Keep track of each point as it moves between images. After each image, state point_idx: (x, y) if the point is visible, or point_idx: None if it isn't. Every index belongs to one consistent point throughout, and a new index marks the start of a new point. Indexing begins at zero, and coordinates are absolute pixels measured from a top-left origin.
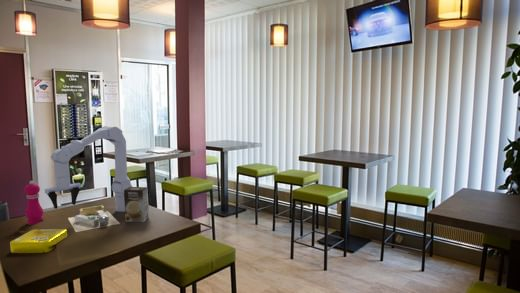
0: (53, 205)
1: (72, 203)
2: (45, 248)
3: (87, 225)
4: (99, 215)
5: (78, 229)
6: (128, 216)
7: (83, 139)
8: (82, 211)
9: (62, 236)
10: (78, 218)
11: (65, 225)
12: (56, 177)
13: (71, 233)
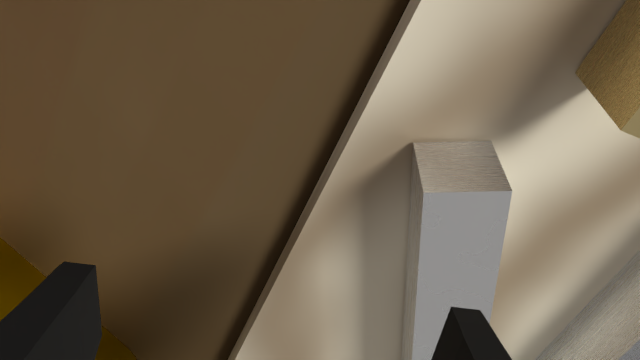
0: (27, 307)
1: (447, 337)
2: None
3: (396, 333)
4: (611, 346)
5: (275, 354)
6: None
7: None
8: (633, 133)
9: None
10: (416, 244)
11: (327, 27)
12: None
13: (220, 310)
